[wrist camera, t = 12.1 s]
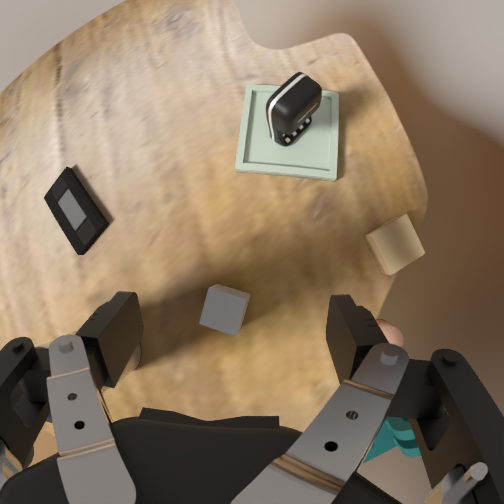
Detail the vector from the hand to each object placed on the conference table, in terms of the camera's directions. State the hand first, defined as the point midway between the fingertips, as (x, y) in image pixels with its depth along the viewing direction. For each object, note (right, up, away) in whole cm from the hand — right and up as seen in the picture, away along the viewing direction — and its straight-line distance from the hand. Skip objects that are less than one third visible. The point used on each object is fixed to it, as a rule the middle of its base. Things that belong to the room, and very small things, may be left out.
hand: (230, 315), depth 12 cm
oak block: (+21, +4, +28) cm, 35 cm away
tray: (+6, +20, +30) cm, 36 cm away
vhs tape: (-30, +10, +34) cm, 46 cm away
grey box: (-2, -5, +31) cm, 31 cm away
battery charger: (+7, +20, +29) cm, 36 cm away
